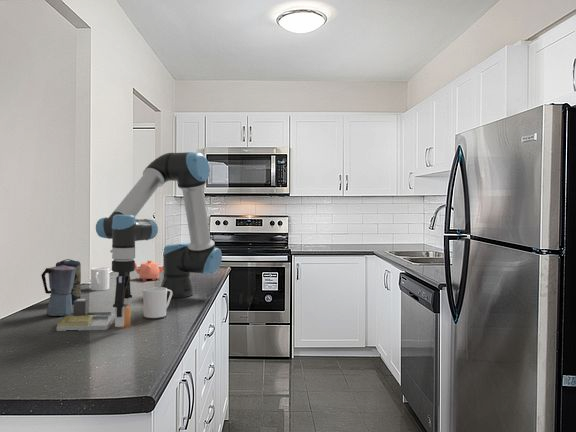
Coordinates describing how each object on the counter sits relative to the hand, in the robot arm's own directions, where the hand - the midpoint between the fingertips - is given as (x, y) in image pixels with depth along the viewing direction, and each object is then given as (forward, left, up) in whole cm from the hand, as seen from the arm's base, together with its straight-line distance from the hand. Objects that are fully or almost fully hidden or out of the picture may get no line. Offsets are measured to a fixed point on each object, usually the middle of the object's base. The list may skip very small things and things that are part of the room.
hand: (122, 321), depth 175 cm
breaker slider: (+16, -9, 0) cm, 18 cm away
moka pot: (+25, -19, -2) cm, 32 cm away
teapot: (0, -94, -2) cm, 94 cm away
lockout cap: (0, 0, -2) cm, 2 cm away
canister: (+27, -40, -2) cm, 49 cm away
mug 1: (+20, -67, -2) cm, 70 cm away
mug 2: (-11, -13, -2) cm, 17 cm away
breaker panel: (+12, -5, -2) cm, 13 cm away
